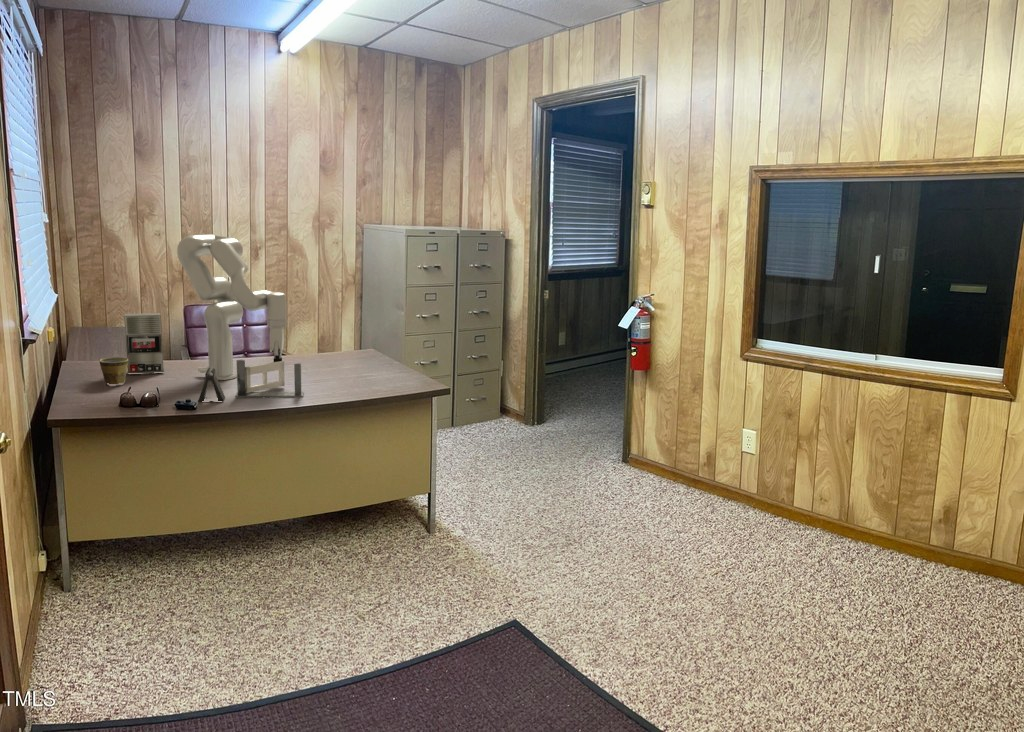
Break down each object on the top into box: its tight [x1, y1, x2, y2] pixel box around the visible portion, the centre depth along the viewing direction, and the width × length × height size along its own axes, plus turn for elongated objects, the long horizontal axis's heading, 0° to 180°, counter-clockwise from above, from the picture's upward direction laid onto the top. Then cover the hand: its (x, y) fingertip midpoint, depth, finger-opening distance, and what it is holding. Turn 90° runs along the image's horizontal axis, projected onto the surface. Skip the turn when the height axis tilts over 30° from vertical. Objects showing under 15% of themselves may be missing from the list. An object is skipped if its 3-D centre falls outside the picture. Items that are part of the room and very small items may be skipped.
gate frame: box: [234, 359, 305, 399], centre depth 296 cm, size 25×6×14 cm, turn 102°
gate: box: [245, 360, 286, 393], centre depth 303 cm, size 17×2×10 cm, turn 142°
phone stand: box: [197, 368, 226, 403], centre depth 287 cm, size 9×6×12 cm, turn 105°
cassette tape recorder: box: [123, 312, 165, 374], centre depth 320 cm, size 14×6×25 cm, turn 114°
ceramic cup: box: [99, 356, 128, 384], centre depth 303 cm, size 13×10×10 cm
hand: (277, 367), depth 314 cm, fingers closed
